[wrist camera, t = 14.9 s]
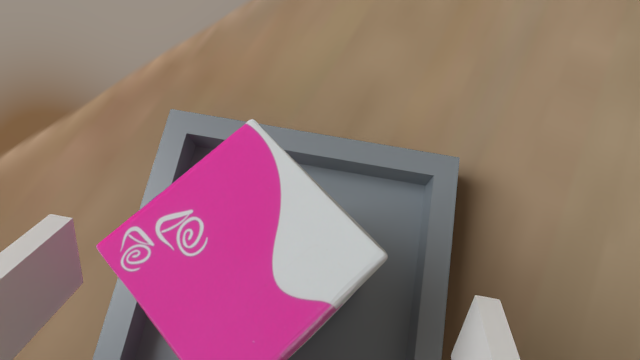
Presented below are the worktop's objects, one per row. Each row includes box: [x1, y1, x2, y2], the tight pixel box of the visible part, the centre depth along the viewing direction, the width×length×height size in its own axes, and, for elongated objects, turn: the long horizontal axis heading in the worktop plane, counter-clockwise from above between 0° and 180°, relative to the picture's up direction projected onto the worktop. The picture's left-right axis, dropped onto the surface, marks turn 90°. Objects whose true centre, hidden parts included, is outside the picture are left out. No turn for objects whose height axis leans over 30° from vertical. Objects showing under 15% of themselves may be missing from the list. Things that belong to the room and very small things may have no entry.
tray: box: [93, 109, 459, 360], centre depth 22 cm, size 15×15×2 cm
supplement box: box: [96, 119, 388, 360], centre depth 17 cm, size 6×6×12 cm
